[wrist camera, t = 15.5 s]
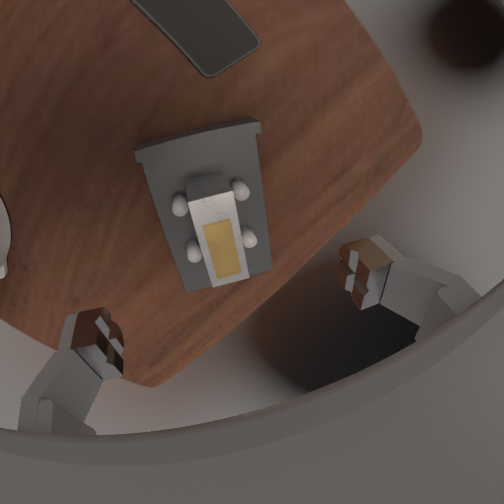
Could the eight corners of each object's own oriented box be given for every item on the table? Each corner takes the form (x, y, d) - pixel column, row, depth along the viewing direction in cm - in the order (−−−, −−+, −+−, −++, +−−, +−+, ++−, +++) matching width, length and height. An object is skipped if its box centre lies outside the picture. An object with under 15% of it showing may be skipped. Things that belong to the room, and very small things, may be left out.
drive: (185, 180, 27) (187, 202, 22) (222, 170, 28) (233, 191, 23) (206, 255, 33) (213, 288, 28) (237, 247, 34) (249, 278, 29)
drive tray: (186, 286, 37) (188, 305, 34) (138, 144, 25) (133, 151, 22) (269, 264, 38) (278, 280, 35) (250, 117, 26) (260, 121, 23)
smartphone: (207, 82, 23) (121, -8, 14) (207, 82, 24) (122, -6, 15) (266, 44, 22) (182, -46, 13) (263, 45, 22) (182, -43, 13)
